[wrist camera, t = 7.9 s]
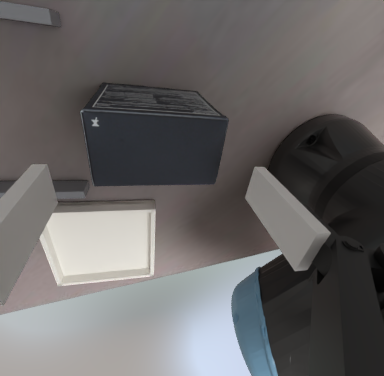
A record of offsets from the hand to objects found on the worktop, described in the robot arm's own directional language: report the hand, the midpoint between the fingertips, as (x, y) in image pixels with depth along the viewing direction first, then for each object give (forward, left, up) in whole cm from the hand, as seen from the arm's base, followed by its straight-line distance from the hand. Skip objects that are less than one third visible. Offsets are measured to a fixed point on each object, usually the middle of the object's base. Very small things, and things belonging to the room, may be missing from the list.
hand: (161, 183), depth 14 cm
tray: (+7, +19, -13) cm, 24 cm away
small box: (0, -1, -14) cm, 14 cm away
